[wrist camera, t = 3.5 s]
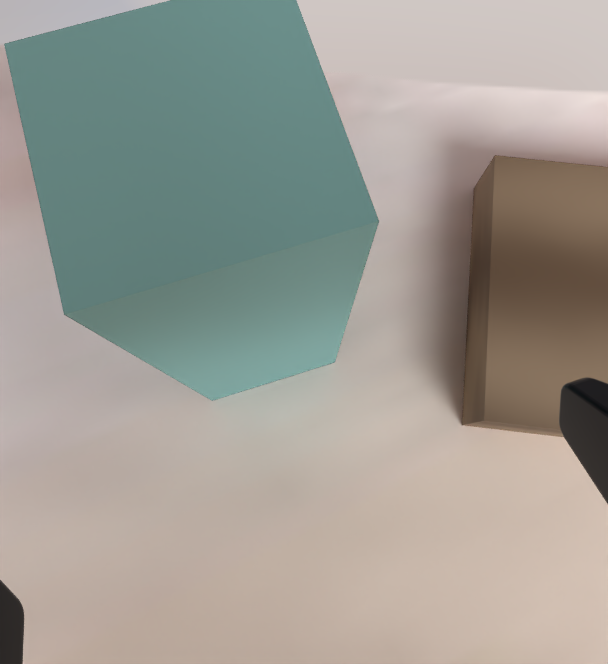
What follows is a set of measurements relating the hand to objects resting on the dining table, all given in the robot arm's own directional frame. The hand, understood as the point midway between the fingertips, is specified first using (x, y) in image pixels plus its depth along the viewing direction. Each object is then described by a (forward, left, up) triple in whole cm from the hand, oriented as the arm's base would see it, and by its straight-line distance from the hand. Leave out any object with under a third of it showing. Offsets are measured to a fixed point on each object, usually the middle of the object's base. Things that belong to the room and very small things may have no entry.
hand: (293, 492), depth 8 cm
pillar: (+5, -4, -12) cm, 14 cm away
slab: (-6, -12, -13) cm, 18 cm away
